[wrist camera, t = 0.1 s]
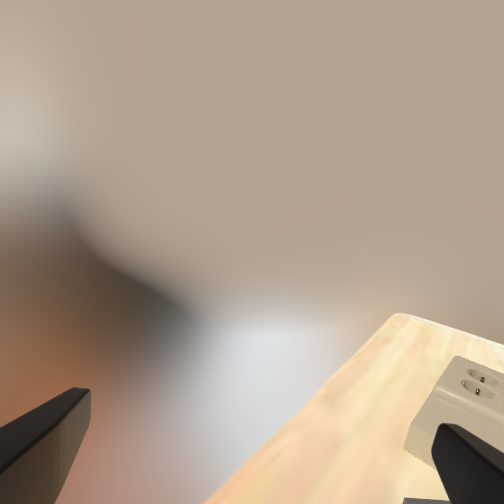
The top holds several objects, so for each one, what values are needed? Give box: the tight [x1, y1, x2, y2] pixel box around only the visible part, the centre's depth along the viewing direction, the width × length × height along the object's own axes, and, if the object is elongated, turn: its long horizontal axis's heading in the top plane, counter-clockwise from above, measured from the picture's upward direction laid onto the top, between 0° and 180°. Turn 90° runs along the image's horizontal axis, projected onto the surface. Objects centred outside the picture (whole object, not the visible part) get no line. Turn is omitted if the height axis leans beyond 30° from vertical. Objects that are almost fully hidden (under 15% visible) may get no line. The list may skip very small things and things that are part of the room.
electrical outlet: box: [403, 356, 504, 470], centre depth 35 cm, size 7×4×18 cm
